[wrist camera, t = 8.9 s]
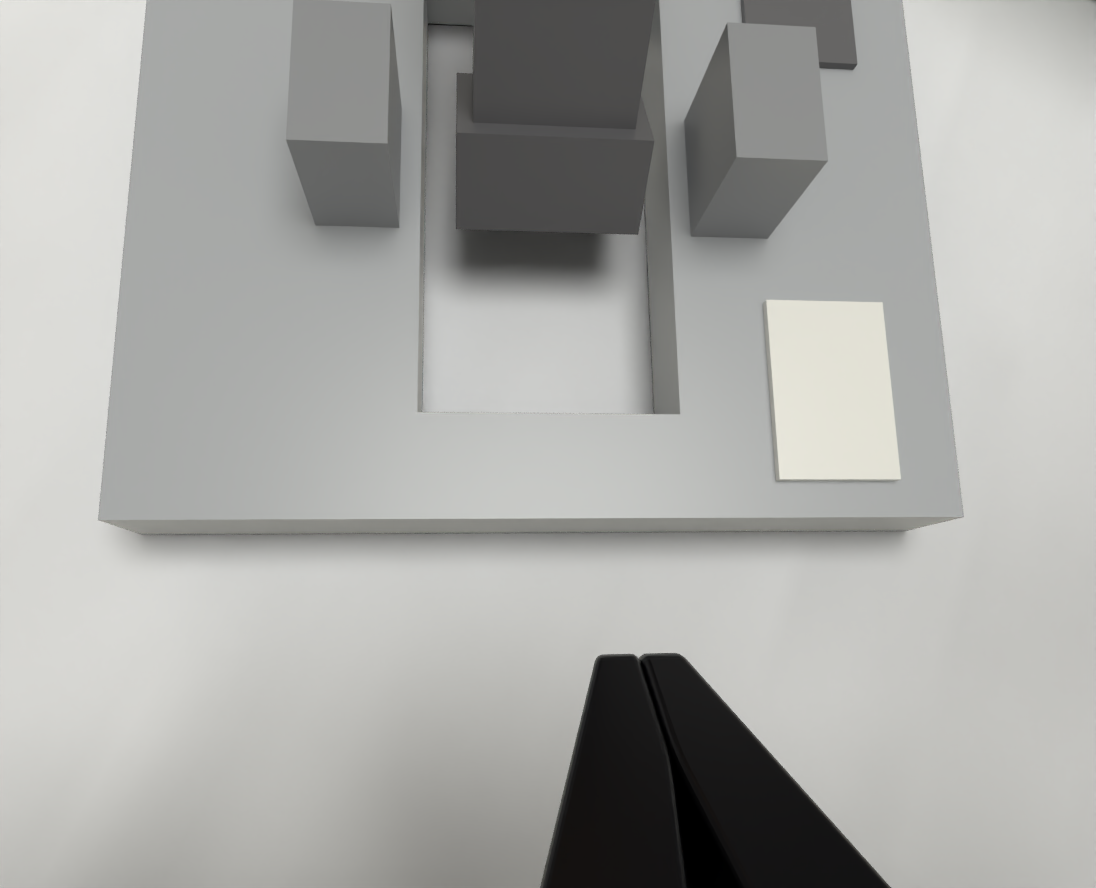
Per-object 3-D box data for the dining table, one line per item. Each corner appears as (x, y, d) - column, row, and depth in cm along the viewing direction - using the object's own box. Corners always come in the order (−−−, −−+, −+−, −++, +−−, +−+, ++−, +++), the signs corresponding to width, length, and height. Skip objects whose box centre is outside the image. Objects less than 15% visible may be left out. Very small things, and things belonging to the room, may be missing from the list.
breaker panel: (907, 530, 19) (1068, 492, 14) (142, 534, 18) (13, 491, 12) (849, -24, 22) (964, -220, 17) (191, -65, 21) (104, -295, 15)
